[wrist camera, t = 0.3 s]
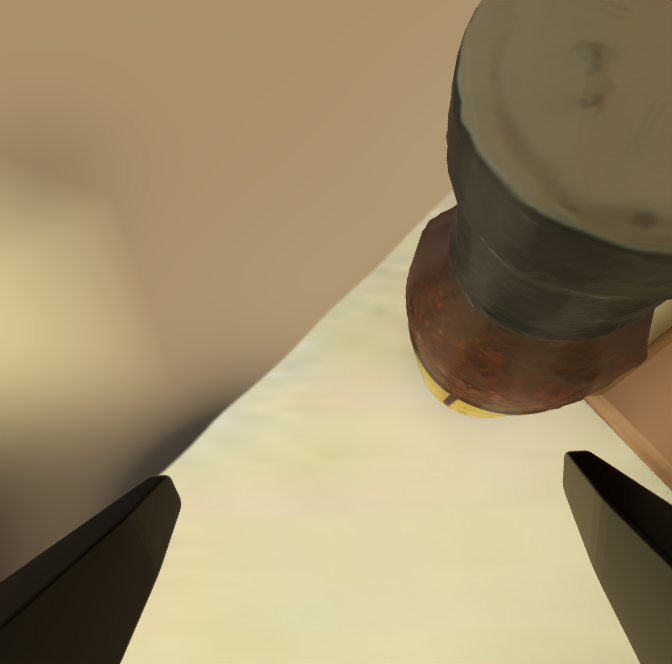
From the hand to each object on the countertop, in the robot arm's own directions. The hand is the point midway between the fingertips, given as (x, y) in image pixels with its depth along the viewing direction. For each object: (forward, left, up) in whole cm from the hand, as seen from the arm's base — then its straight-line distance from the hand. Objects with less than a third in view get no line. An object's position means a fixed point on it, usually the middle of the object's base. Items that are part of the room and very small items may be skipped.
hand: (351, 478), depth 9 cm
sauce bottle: (+1, -6, -14) cm, 16 cm away
